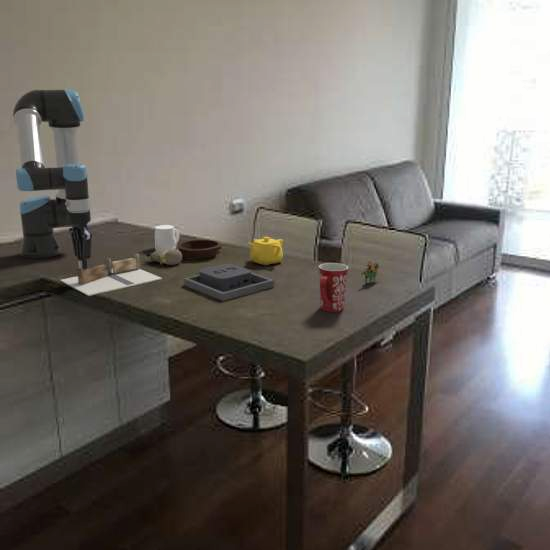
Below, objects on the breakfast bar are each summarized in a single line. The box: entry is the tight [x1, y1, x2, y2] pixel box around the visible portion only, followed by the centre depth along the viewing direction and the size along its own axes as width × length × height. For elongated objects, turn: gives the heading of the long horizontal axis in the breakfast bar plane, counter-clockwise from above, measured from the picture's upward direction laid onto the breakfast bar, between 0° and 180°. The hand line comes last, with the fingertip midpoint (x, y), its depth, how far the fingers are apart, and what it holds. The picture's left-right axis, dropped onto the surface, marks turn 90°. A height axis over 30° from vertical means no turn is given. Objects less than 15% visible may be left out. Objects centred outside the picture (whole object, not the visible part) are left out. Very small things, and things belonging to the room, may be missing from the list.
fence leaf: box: [76, 263, 108, 284], centre depth 212 cm, size 13×2×5 cm, turn 150°
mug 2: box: [318, 262, 349, 313], centre depth 185 cm, size 13×9×14 cm
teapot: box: [247, 236, 284, 266], centre depth 236 cm, size 14×13×10 cm
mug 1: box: [154, 224, 180, 251], centre depth 258 cm, size 12×9×8 cm
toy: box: [145, 248, 183, 266], centre depth 237 cm, size 10×6×15 cm
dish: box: [176, 239, 222, 260], centre depth 247 cm, size 18×22×5 cm
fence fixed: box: [106, 253, 141, 275], centre depth 223 cm, size 13×2×6 cm, turn 132°
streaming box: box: [198, 263, 252, 292], centre depth 211 cm, size 14×14×5 cm
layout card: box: [60, 268, 163, 297], centre depth 215 cm, size 22×28×1 cm
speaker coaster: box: [183, 272, 275, 302], centre depth 209 cm, size 22×22×2 cm
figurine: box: [360, 261, 380, 285], centre depth 212 cm, size 3×12×8 cm, turn 141°
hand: (84, 277), depth 212 cm, fingers closed
